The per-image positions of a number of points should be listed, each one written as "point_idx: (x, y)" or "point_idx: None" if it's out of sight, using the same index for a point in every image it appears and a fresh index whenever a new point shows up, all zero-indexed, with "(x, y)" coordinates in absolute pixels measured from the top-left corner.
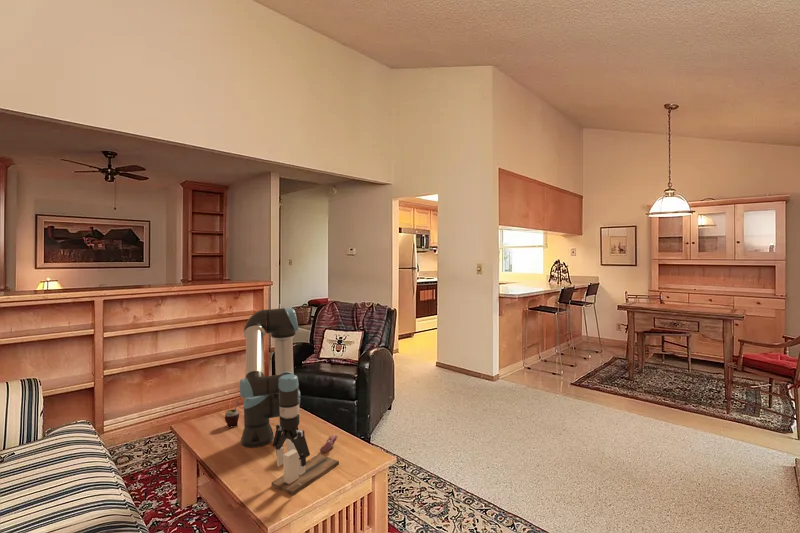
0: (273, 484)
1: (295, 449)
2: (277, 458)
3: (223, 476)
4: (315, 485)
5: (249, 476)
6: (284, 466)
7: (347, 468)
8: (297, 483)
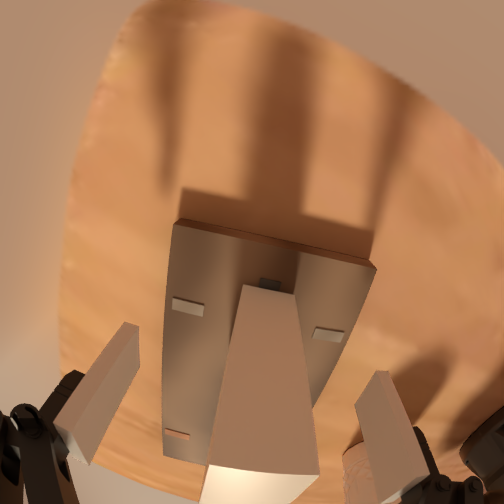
0: (357, 262)
1: (364, 471)
2: (404, 414)
3: None
4: None
5: (494, 288)
6: (292, 368)
7: (124, 429)
8: (201, 307)
